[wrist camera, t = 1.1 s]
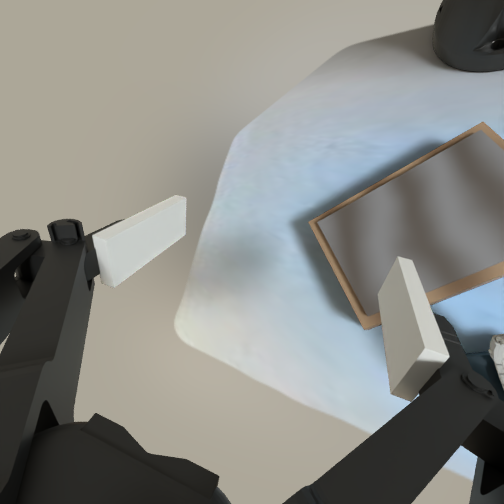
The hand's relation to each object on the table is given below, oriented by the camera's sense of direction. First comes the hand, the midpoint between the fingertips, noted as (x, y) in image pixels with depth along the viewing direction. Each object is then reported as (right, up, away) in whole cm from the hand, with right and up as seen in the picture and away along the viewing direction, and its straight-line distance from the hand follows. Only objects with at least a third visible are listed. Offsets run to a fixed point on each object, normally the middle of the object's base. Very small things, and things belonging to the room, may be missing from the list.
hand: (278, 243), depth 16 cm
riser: (+18, +1, +14) cm, 23 cm away
